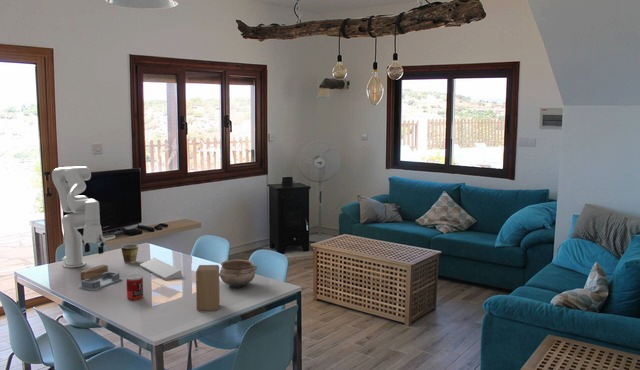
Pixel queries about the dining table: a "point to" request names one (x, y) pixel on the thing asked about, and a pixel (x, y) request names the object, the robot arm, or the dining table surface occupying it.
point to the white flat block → (161, 269)
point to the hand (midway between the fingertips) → (94, 252)
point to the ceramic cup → (129, 253)
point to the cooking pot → (237, 272)
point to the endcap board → (101, 281)
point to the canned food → (134, 287)
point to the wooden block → (207, 287)
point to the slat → (94, 272)
